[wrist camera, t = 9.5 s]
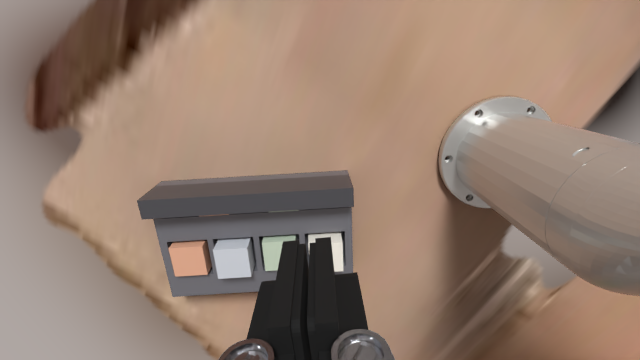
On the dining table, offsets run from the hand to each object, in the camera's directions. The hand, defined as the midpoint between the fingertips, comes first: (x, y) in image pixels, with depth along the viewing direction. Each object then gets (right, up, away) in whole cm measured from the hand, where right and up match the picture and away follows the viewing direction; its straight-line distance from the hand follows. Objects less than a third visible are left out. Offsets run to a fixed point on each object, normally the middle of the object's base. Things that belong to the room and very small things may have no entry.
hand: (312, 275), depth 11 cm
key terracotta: (-14, -5, +26) cm, 30 cm away
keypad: (-7, -2, +28) cm, 29 cm away
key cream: (+1, -4, +26) cm, 26 cm away
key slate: (-9, -5, +26) cm, 28 cm away
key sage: (-4, -4, +27) cm, 27 cm away
